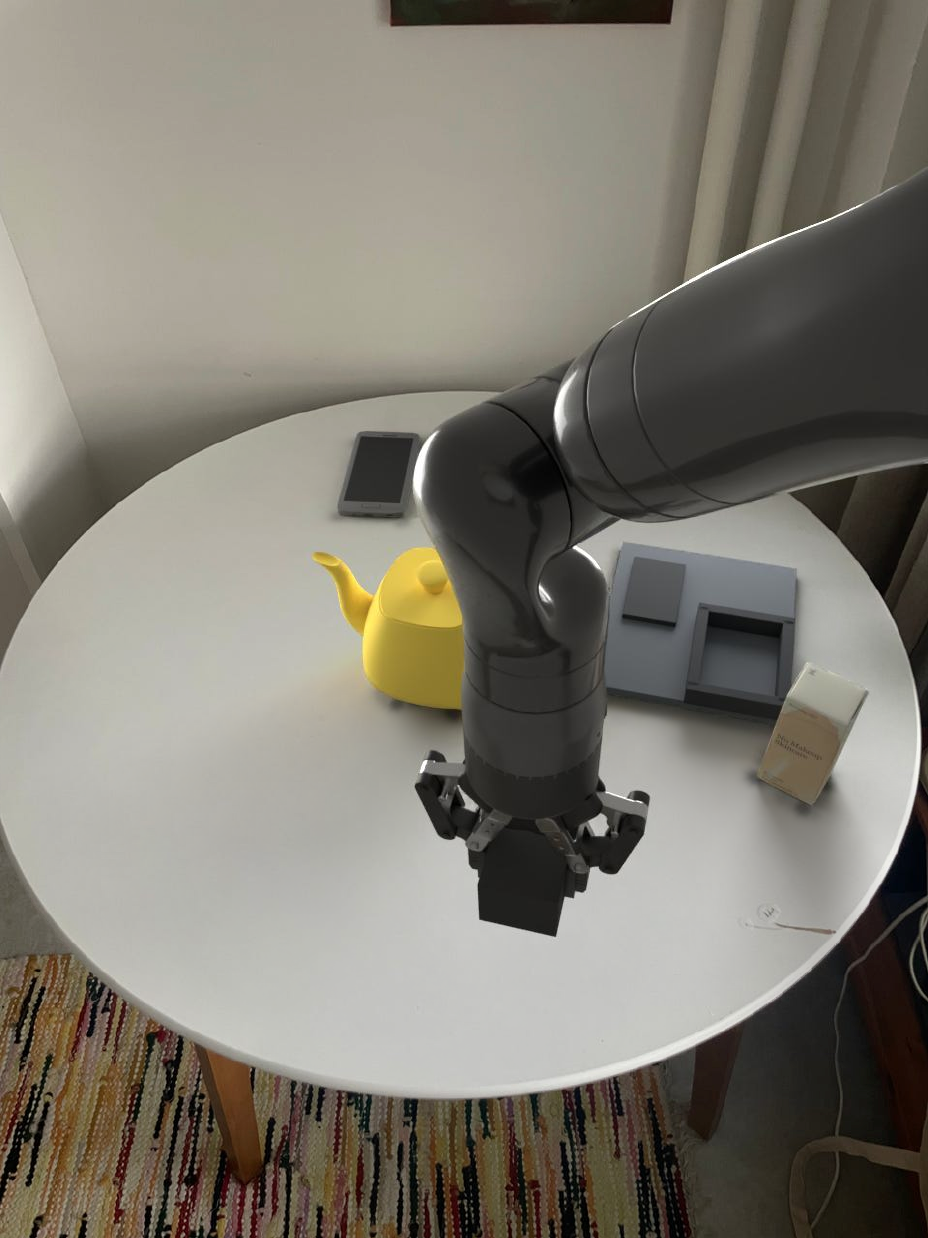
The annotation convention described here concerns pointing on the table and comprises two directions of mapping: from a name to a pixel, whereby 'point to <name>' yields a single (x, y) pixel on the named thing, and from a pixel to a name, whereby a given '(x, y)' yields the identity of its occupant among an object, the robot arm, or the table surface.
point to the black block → (522, 883)
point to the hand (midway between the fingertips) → (529, 875)
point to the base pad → (701, 632)
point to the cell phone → (379, 474)
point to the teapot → (407, 628)
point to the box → (811, 732)
